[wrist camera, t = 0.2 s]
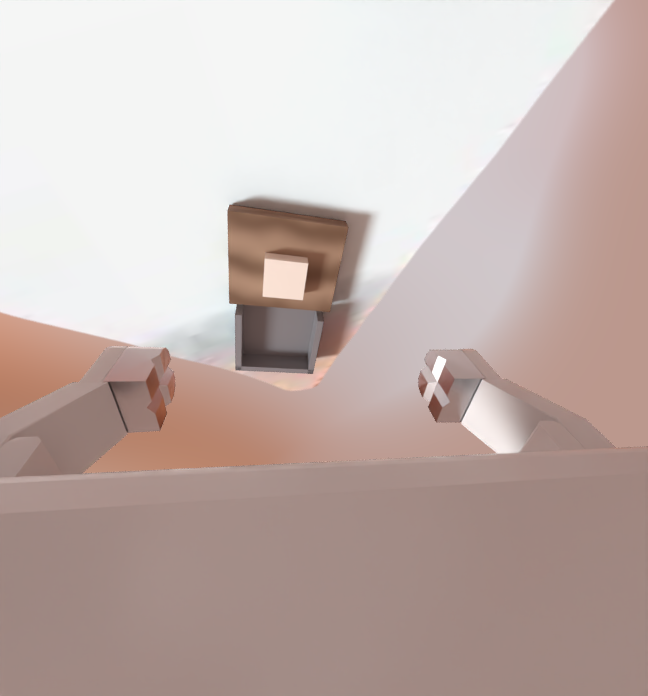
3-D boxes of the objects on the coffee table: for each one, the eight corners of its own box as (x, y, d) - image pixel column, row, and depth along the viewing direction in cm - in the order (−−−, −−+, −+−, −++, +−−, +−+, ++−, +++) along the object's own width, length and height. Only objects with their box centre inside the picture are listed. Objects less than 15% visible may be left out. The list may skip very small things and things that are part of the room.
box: (237, 300, 52) (235, 314, 49) (321, 308, 54) (323, 321, 51) (237, 355, 59) (235, 370, 56) (311, 359, 62) (312, 373, 59)
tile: (265, 252, 44) (264, 258, 43) (307, 257, 45) (308, 263, 44) (263, 289, 48) (262, 296, 47) (302, 293, 49) (302, 300, 48)
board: (229, 204, 42) (227, 210, 40) (345, 221, 45) (348, 227, 43) (231, 295, 51) (229, 303, 49) (328, 303, 54) (329, 312, 52)
